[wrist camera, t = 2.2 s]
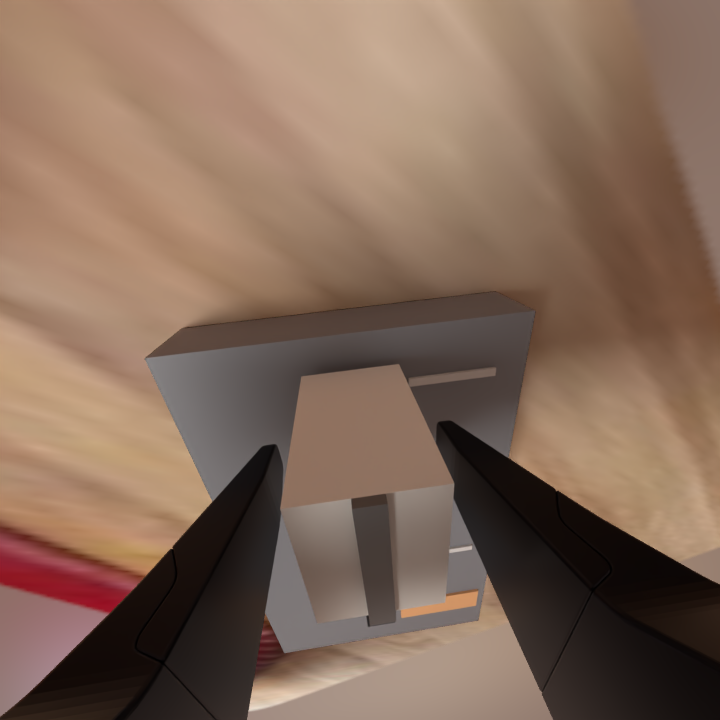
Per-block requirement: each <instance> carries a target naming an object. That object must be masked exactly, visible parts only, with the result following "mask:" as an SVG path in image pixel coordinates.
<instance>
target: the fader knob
mask: <svg viewBox="0 0 720 720" xmlns="http://www.w3.org/2000/svg"><path fill="white" fill-rule="evenodd" d="M453 496H454V481H453V479H452V477H451V475H450V473H449V471H448V469H447V466H446V464H445V462H444V460H443V458H442V456H441V453H440V451H439V449H438V447H437V445H436V443H435V441H434V438H433V436H432V434H431V432H430V430H429V428H428V426H427V423H426V421H425V419H424V417H423V415H422V413H421V410H420V408H419V406H418V404H417V402H416V400H415V398H414V395H413V393H412V391H411V389H410V387H409V385H408V383H407V380H406V378H405V376H404V374H403V372H402V370H401V367H400V365H399V364H395V365H387V366H379V367H371V368H363V369H355V370H348V371H340V372H332V373H324V374H316V375H308V376H301V382H300V388H299V394H298V401H297V407H296V413H295V419H294V426H293V432H292V438H291V444H290V451H289V457H288V463H287V469H286V476H285V482H284V488H283V494H282V501H281V507H280V510H281V513H282V516H283V519H284V523H285V526H286V529H287V532H288V535H289V538H290V541H291V544H292V547H293V550H294V553H295V556H296V559H297V563H298V566H299V569H300V572H301V575H302V578H303V581H304V584H305V587H306V590H307V593H308V596H309V600H310V603H311V606H312V609H313V612H314V615H315V618H316V621H317V624H318V623H325V622H331V621H337V620H343V619H349V618H355V617H361V616H367V615H369V621H370V626H373V625H379V624H385V623H391V622H396V611H397V610H403V609H409V608H415V607H421V606H427V605H434V604H440V603H445V599H446V586H447V573H448V560H449V548H450V535H451V522H452V509H453Z"/></svg>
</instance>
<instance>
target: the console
mask: <svg viewBox="0 0 720 720" xmlns="http://www.w3.org/2000/svg"><path fill="white" fill-rule="evenodd" d="M534 317H535V310H533V309H531V308H529V307H527V306H525V305H523V304H521V303H519V302H516V301H514V300H512V299H510V298H508V297H506V296H504V295H502V294H500V293H498V292H487V293H479V294H470V295H462V296H453V297H445V298H436V299H428V300H419V301H411V302H402V303H394V304H385V305H377V306H368V307H360V308H351V309H343V310H335V311H326V312H318V313H309V314H301V315H292V316H284V317H275V318H267V319H258V320H250V321H241V322H233V323H224V324H216V325H207V326H199V327H190V328H182V329H180V330H179V331H178V332H177V333H175V334H174V335H173V336H172V337H170V338H169V339H168V340H167V341H165V342H164V343H163V344H162V345H160V346H159V347H158V348H157V349H155V350H154V351H153V352H152V353H151V354H149V355H148V356H147V357H146V358H145V360H146V362H147V365H148V367H149V369H150V371H151V373H152V375H153V377H154V379H155V381H156V384H157V386H158V388H159V390H160V392H161V394H162V396H163V398H164V400H165V402H166V405H167V407H168V409H169V411H170V413H171V415H172V417H173V419H174V421H175V424H176V426H177V428H178V430H179V432H180V434H181V436H182V438H183V440H184V443H185V445H186V447H187V449H188V451H189V453H190V455H191V457H192V459H193V462H194V464H195V466H196V468H197V470H198V472H199V474H200V476H201V478H202V481H203V483H204V485H205V487H206V489H207V491H208V493H209V495H210V497H211V499H212V502H213V501H214V499H215V498H216V497H217V496H218V495H219V494H220V493H221V492H222V490H223V489H224V488H225V487H226V486H227V485H228V484H229V483H230V481H231V480H232V479H233V478H234V477H235V476H236V475H237V474H238V473H239V471H240V470H241V469H242V468H243V467H244V466H245V465H246V464H247V462H248V461H249V460H250V459H251V458H252V457H253V456H254V455H255V453H256V452H257V451H258V450H259V449H260V448H261V447H262V446H264V445H270V444H276V445H277V446H278V449H279V452H280V456H281V459H282V463H283V488H284V482H285V476H286V469H287V463H288V457H289V451H290V444H291V438H292V432H293V426H294V419H295V413H296V407H297V401H298V394H299V388H300V382H301V376H308V375H316V374H324V373H332V372H340V371H348V370H355V369H363V368H371V367H379V366H387V365H395V364H399V365H400V367H401V370H402V372H403V374H404V376H405V378H406V380H407V383H408V385H409V387H410V389H411V391H412V393H413V395H414V398H415V400H416V402H417V404H418V406H419V408H420V410H421V413H422V415H423V417H424V419H425V421H426V423H427V426H428V428H429V430H430V432H431V434H432V436H433V438H434V441H435V443H436V427H437V423H438V422H439V421H446V420H451V421H453V422H454V423H456V424H458V425H459V426H461V427H462V428H464V429H465V430H467V431H468V432H470V433H471V434H473V435H474V436H476V437H477V438H479V439H480V440H482V441H483V442H485V443H486V444H488V445H489V446H491V447H492V448H494V449H496V450H497V451H499V452H500V453H502V454H503V455H505V456H506V457H509V452H510V446H511V441H512V436H513V430H514V425H515V419H516V414H517V409H518V403H519V398H520V392H521V387H522V382H523V376H524V371H525V365H526V360H527V355H528V349H529V344H530V338H531V333H532V328H533V322H534ZM283 488H282V494H283ZM486 576H487V572H486V570H485V567H484V565H483V563H482V561H481V558H480V556H479V554H478V552H477V550H476V547H475V545H474V543H473V541H472V539H471V536H470V534H469V532H468V530H467V528H466V525H465V523H464V521H463V519H462V517H461V514H460V512H459V510H458V508H457V505H456V503H455V501H454V498H453V509H452V522H451V535H450V548H449V560H448V573H447V586H446V599H445V603H440V604H434V605H427V606H421V607H415V608H409V609H403V610H397V611H396V622H391V623H385V624H379V625H373V626H370V621H369V615H367V616H361V617H355V618H349V619H343V620H337V621H331V622H325V623H318V624H317V621H316V618H315V615H314V612H313V609H312V606H311V603H310V600H309V596H308V593H307V590H306V587H305V584H304V581H303V578H302V575H301V572H300V569H299V566H298V563H297V559H296V556H295V553H294V550H293V547H292V544H291V541H290V538H289V535H288V532H287V529H286V526H285V523H284V519H283V516H282V513H281V520H280V528H279V534H278V540H277V546H276V552H275V558H274V563H273V569H272V575H271V581H270V587H269V593H268V599H267V604H266V610H265V613H266V615H267V618H268V620H269V622H270V624H271V626H272V628H273V630H274V632H275V634H276V637H277V639H278V641H279V643H280V645H281V647H282V649H283V651H284V653H289V652H295V651H301V650H306V649H312V648H318V647H324V646H330V645H336V644H342V643H348V642H354V641H360V640H366V639H372V638H378V637H383V636H389V635H395V634H401V633H407V632H413V631H419V630H425V629H431V628H437V627H443V626H449V625H455V624H460V623H466V622H472V621H478V619H479V614H480V608H481V603H482V597H483V592H484V587H485V581H486Z"/></svg>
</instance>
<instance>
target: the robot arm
mask: <svg viewBox="0 0 720 720" xmlns="http://www.w3.org/2000/svg"><path fill="white" fill-rule="evenodd" d="M436 445H437V447H438V449H439V451H440V453H441V456H442V458H443V460H444V462H445V464H446V466H447V469H448V471H449V473H450V475H451V477H452V479H453V481H454V496H453V498H454V501H455V503H456V505H457V508H458V510H459V512H460V514H461V517H462V519H463V521H464V523H465V525H466V528H467V530H468V532H469V534H470V536H471V539H472V541H473V543H474V545H475V547H476V550H477V552H478V554H479V556H480V558H481V561H482V563H483V565H484V567H485V570H486V572H487V574H488V576H489V578H490V581H491V583H492V585H493V587H494V589H495V592H496V594H497V596H498V598H499V600H500V603H501V605H502V607H503V609H504V611H505V614H506V616H507V618H508V620H509V623H510V625H511V627H512V629H513V631H514V634H515V636H516V638H517V640H518V642H519V645H520V646H521V649H522V651H523V653H524V656H525V658H526V660H527V662H528V664H529V667H530V669H531V671H532V673H533V675H534V678H535V680H536V682H537V684H538V687H539V689H540V690H541V691H542V696H543V698H544V700H545V702H546V705H547V707H548V709H549V711H550V714H551V716H552V717H553V720H720V584H718V583H716V582H714V581H712V580H709V579H708V578H706V577H703V576H702V575H700V574H698V573H696V572H695V571H693V570H691V569H689V568H687V567H686V566H684V565H682V564H681V563H679V562H677V561H675V560H673V559H672V558H670V557H668V556H666V555H665V554H663V553H661V552H659V551H658V550H656V549H654V548H652V547H651V546H649V545H647V544H645V543H644V542H642V541H640V540H638V539H636V538H635V537H633V536H631V535H629V534H628V533H626V532H624V531H622V530H621V529H619V528H617V527H616V526H614V525H612V524H611V523H609V522H607V521H605V520H604V519H602V518H600V517H599V516H597V515H595V514H594V513H592V512H591V511H589V510H587V509H586V508H584V507H583V506H581V505H579V504H578V503H576V502H575V501H573V500H572V499H570V498H569V497H567V496H566V495H564V494H563V493H561V492H559V491H556V490H555V488H553V487H552V486H550V485H549V484H547V483H546V482H544V481H543V480H541V479H540V478H538V477H537V476H535V475H533V474H532V473H530V472H529V471H527V470H526V469H524V468H523V467H521V466H520V465H518V464H517V463H515V462H514V461H512V460H511V459H509V458H508V457H506V456H505V455H503V454H502V453H500V452H499V451H497V450H496V449H494V448H492V447H491V446H489V445H488V444H486V443H485V442H483V441H482V440H480V439H479V438H477V437H476V436H474V435H473V434H471V433H470V432H468V431H467V430H465V429H464V428H462V427H461V426H459V425H458V424H456V423H454V422H453V421H451V420H446V421H439V422H438V423H437V427H436ZM282 488H283V463H282V459H281V456H280V452H279V449H278V446H277V445H276V444H270V445H264V446H262V447H261V448H260V449H259V450H258V451H257V452H256V453H255V455H254V456H253V457H252V458H251V459H250V460H249V461H248V462H247V464H246V465H245V466H244V467H243V468H242V469H241V470H240V471H239V473H238V474H237V475H236V476H235V477H234V478H233V479H232V480H231V481H230V483H229V484H228V485H227V486H226V487H225V488H224V489H223V490H222V492H221V493H220V494H219V495H218V496H217V497H216V498H215V499H214V501H213V502H212V503H211V504H210V505H209V506H208V507H207V508H206V510H205V511H204V512H203V513H202V514H201V515H200V516H199V517H198V519H197V520H196V521H195V522H194V523H193V524H192V525H191V526H190V528H189V529H188V530H187V531H186V532H185V533H184V534H183V535H182V536H181V538H180V539H179V540H178V541H177V542H176V543H175V544H174V545H173V549H170V550H169V551H168V552H167V553H166V554H165V555H164V557H163V558H162V559H161V560H160V561H159V562H158V563H157V564H156V565H155V567H154V568H153V569H152V570H151V571H150V572H149V573H148V574H147V575H146V576H145V577H144V578H143V580H142V581H141V582H140V583H139V584H138V585H137V586H136V587H135V588H134V589H133V590H132V591H131V592H130V593H129V594H128V595H127V596H126V597H125V598H124V599H123V600H122V601H121V602H120V603H119V604H118V605H117V606H116V607H115V608H114V609H113V610H112V612H111V613H110V614H109V615H108V616H107V617H105V619H104V620H103V621H101V622H100V623H99V625H97V626H96V628H94V629H93V630H92V631H91V632H90V634H88V635H87V636H86V637H85V638H84V639H83V640H82V641H81V642H80V643H79V644H78V645H77V646H76V647H75V648H74V649H73V650H72V651H71V652H70V653H69V654H68V655H67V656H66V657H65V658H64V659H63V660H62V661H61V662H60V663H59V664H58V665H57V666H56V667H55V668H54V669H53V670H52V671H51V672H50V673H49V674H48V675H47V676H46V677H45V678H44V679H43V680H42V681H41V682H40V683H39V684H38V685H37V686H36V687H35V688H33V690H31V691H30V692H29V693H28V694H27V695H26V696H25V697H24V698H22V699H21V700H20V701H19V702H18V703H17V704H15V706H13V707H12V708H11V709H10V710H8V711H7V712H6V713H5V714H3V715H2V716H1V717H0V720H247V716H248V710H249V704H250V698H251V692H252V687H253V681H254V675H255V669H256V663H257V657H258V651H259V646H260V640H261V634H262V628H263V622H264V616H265V610H266V604H267V599H268V593H269V587H270V581H271V575H272V569H273V563H274V558H275V552H276V546H277V540H278V534H279V528H280V520H281V510H280V507H281V501H282Z"/></svg>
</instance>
